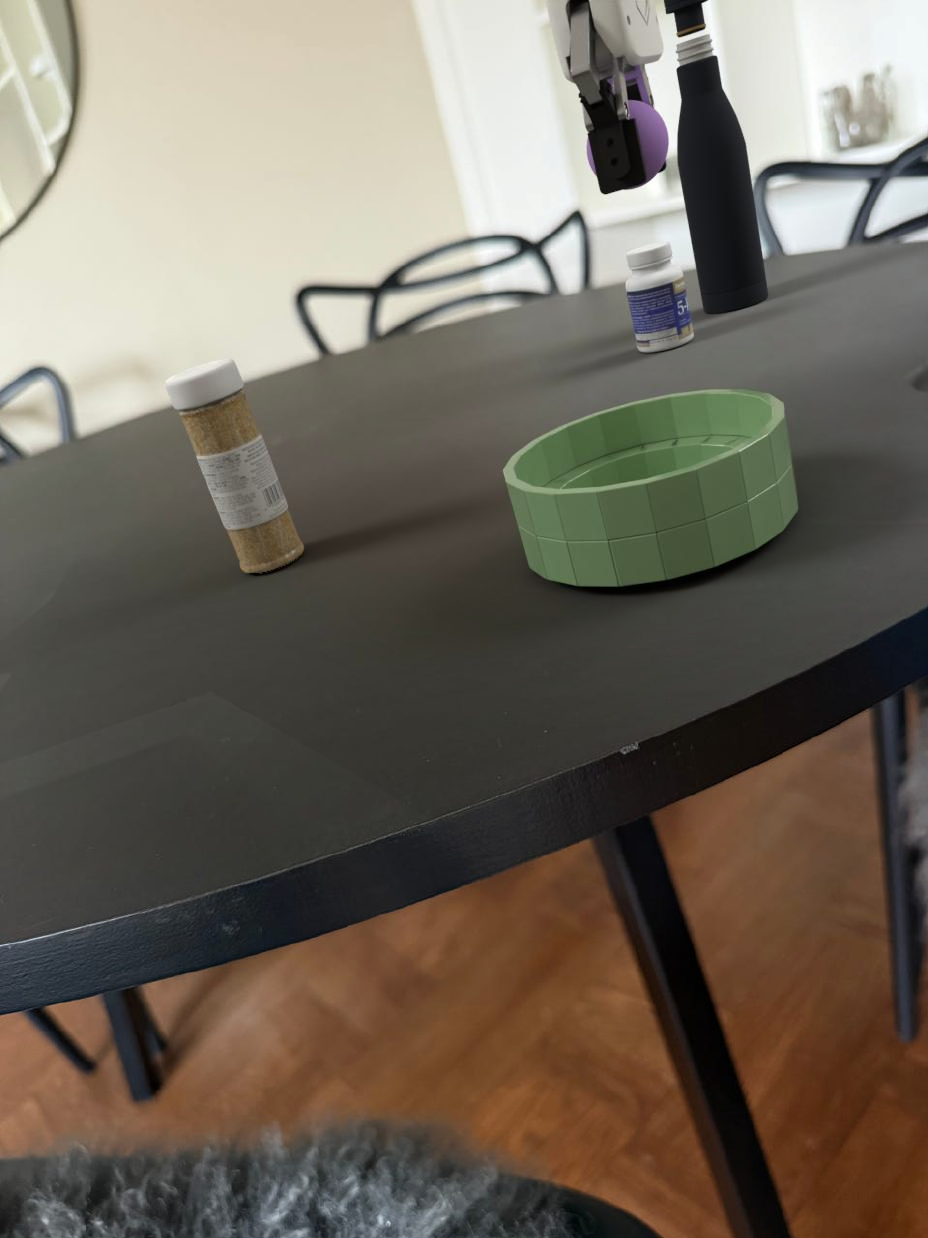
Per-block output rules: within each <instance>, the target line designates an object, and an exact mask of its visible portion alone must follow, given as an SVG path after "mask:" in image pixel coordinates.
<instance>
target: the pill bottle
mask: <svg viewBox="0 0 928 1238" xmlns="http://www.w3.org/2000/svg"><path fill="white" fill-rule="evenodd" d="M625 257H626V262H627V266H628V270H630V271H631V273H632V275H631V276H629V278H628V279H627V280H626V282H625V292H626V296H627V297H626V298H627V303H628V306H629V312H630V317H631V322H632V325H633V332H634V336H635V343H636V347H637V350H638V352H641V353H645V354H649V353H650V354H651V353H657V352H664V351H667V350H671V349H675V348H677V347H680V346H683V345H686V344H687V343H689V342H691V341H692V340H693V338H694V336H695V333H694V327H693V322H692V317H691V309H690V305H689V300H688V295H687V288H686V282H685V277H684V272H683V269H682V268H681V267H680V266H678V265H675V264H672V261H671V260H672V259H673V249H672V246H671V242H670V241H669V240H666V241H658V242H655V243H650V244H647V245H642V246H640V247H636V248H634V249H631V250H629V251H628V252H626V254H625Z"/></svg>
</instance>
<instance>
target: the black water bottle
mask: <svg viewBox="0 0 928 1238" xmlns="http://www.w3.org/2000/svg"><path fill="white" fill-rule="evenodd" d="M708 1H709V0H663V5H664V8H665V9H664V10H665V15H672V14H673V16H674V22H675V28H676V34H675V35H676V37H677V38H679V39H680V38H684V37H687V36H691V35H693V34H697V33H699V32H702V31H704V30H705V29H706V28H707V23H706V22H705V16H704V15H705V14H704V9H703V4H704V3H706V2H708ZM712 42H713V39H712V38H711V34H710V33H707V34H703V35H701V36H697V37H694V38H691V39H688V40H685V41H681V42H679V43H677V44H676V45H675V46H676V50H675V54H677V57H678V58H677V59H676V61H677V62H678V64H679V66H677V68H676V77H677V83H678V89H679V94H680V109H679V115H678V116H679V117H678V124H677V134H676V149H677V150H676V154H677V156H676V157H677V161H676V162H677V168H678V173H679V180H680V185H681V190H682V196H683V201H684V208H685V214H686V218H687V225H688V230H689V236H690V241H691V242H690V243H691V247H692V253H693V259H694V265H695V270H696V276H697V281H698V287H699V293H700V297H701V298H700V299H701V303H702V304H701V305H702V310H703V312H704V313H705V314H713V315H714V314H722V313H728V312H729V313H730V312H734V311H738V310H741V309H745V308H748V307H751V306H755V305H757V304H759V303H761V302H763V301H765V300H766V299H767V298H768V297H769V290H768V283H767V277H766V275H767V274H766V268H765V262H764V254H763V248H762V242H761V236H760V229H759V228H760V227H759V222H758V213H757V209H756V202H755V201H756V200H755V195H754V188H753V182H752V175H751V169H750V161H749V155H748V148H747V147H748V146H747V142H746V139H745V136H744V132H743V130H742V127H741V124H740V121H739V119H738V116H737V114H736V111H735V109H734V108H733V105H732V103H731V102H730V100H729V98H728V95H727V94H726V91H724V88H723V83H722V77H721V71H720V65H719V58H718V56H717V55H714V53H713V51H714V50H715V49H714V47H713V46H712Z"/></svg>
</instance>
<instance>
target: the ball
mask: <svg viewBox="0 0 928 1238" xmlns="http://www.w3.org/2000/svg"><path fill="white" fill-rule="evenodd" d="M628 106H629V115H630V116H629V119H632V118H636V122H637V127H638V132H639V137H640V142H641V147H642V152H643V157H644V162H645V167H646V172H647V180H646V182H644V183H643V184H641V185H637V186H634V187H630V188H627V189H623V190H622V191H628V190H634V189H638V188H640V187H642V186H644V185H646V184H648V183H649V182H651V181H652V180H653V179H654V178H656V176H657V175H658V174H659V173H658V172H659V171H660V169H661V168H662V166H663V164H664V162H665V159H667V156H668V153H669V144H670V141H669V140H670V139H669V131H668V128H667V125H666V122H665V120H664V118H663V117H662V116H661V114H660V113H659V111H657V110H656V108H655V107H654V108H653V107H651V106H650V105H648V104H646V103H644V102H641V101H636V100H628ZM586 156H587V157H586V158H587V161H588V164H589V167H590V169H591V171H592V172H593V174H594V176H595V177H597V175H596V170H595V166H594V161H593V157H592V152H591V148H590V143H589V139H588V138H586Z"/></svg>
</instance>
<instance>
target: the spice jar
mask: <svg viewBox="0 0 928 1238" xmlns="http://www.w3.org/2000/svg"><path fill="white" fill-rule="evenodd" d="M244 385H245V384H244V381H243V379H242V376H241V373H240V371H239V368H238V366H237V364H236V361H235V360H234V359H232V358H220V359H217V360H212V361H208V362H205V363H201V364H199V365H195V366H193V367H190V368H188V369H185V370H182V371H180V372H178V373H176V374H174V375H173V376H170V377H169V378H168V379H166V381H165V382H164V387H165V389H166V392H167V395H168V397H169V400H170V402H171V404H172V407H173V409H174V410H178V415H179V417H180V418H181V421H182V423H183V425H184V428H185V430H186V433H187V435H188V438H189V441H190V443H191V445H192V448H193V452H194V453H195V457H196V460H197V463H198V465H199V467H200V470H201V472H202V475H203V477H204V479H205V482H206V486H207V488H208V491H209V493H210V495H211V497H212V500H213V503H214V505H215V507H216V510H217V512H218V515H219V518H220V519H221V522H222V524H223V527H224V528H225V529H226V532H227V535H228V536H229V538H230V541H231V543H232V546H233V548H234V550H235V553H236V556H237V559H238V560H239V568H240V569H241V571H242V572H243V573H245V574H249V573H259V574H263V573H262V572H266V573H268V572H267V571H270V572H272V571H271V570H273V571H275V570H274V569H276V568H278V569H280V568H279V567H281V568H283V567H282V566H284V567H285V566H287V565H289V564H291V563H293V562H295V561H296V560H298V559H299V558H300V557H301V555H302V554H303V552H304V550H305V545H304V543H303V541H302V540H301V539H300V536H299V534H298V532H297V529H296V527H295V523H294V522H293V519H292V516H291V513H290V511H289V504H288V502H287V499H286V495H285V494H284V491H283V488H282V485H281V483H280V479H279V478H278V475H277V472H276V469H275V467H274V464H273V462H272V459H271V456H270V453H269V452H268V449H267V445H266V443H265V441H264V438H263V435H262V433H260V431H259V428H258V426H257V421H256V420H255V419H254V415H253V412H252V410H251V408H250V404H249V402H248V401H247V397H246V390H245V389H243V387H244ZM299 556H300V557H299ZM298 557H299V558H298ZM295 559H296V560H295ZM294 560H295V561H294ZM292 561H293V562H292ZM290 562H291V563H290ZM286 564H287V565H286ZM276 570H277V569H276Z"/></svg>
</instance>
